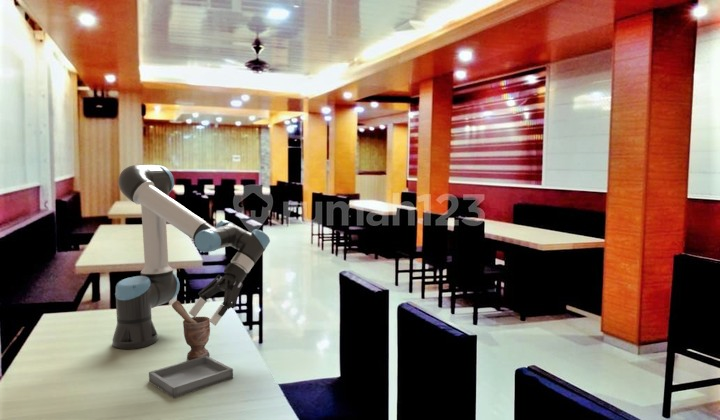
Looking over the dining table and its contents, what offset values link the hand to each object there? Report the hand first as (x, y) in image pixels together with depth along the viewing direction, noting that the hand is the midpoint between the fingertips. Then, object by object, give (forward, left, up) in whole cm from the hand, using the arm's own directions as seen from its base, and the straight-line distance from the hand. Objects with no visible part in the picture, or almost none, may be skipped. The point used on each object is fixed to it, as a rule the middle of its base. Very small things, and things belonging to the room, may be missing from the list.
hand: (201, 319), depth 179 cm
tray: (+15, -12, -13) cm, 23 cm away
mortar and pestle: (-1, -3, -13) cm, 14 cm away
